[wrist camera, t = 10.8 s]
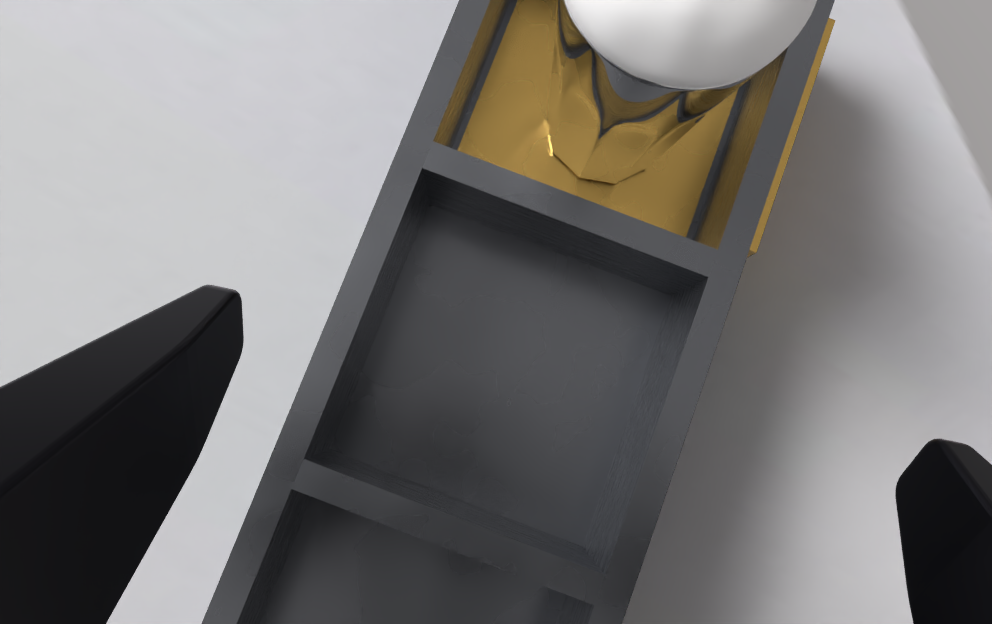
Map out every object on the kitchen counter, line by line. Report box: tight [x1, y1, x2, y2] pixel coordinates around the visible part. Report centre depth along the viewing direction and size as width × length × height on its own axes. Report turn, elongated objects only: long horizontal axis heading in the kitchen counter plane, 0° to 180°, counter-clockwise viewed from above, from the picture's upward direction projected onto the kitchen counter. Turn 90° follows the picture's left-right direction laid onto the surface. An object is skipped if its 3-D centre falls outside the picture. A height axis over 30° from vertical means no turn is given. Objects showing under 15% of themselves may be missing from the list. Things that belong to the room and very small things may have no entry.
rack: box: [202, 0, 835, 624], centre depth 19 cm, size 24×9×4 cm, turn 159°
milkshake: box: [547, 0, 817, 184], centre depth 16 cm, size 5×5×10 cm
